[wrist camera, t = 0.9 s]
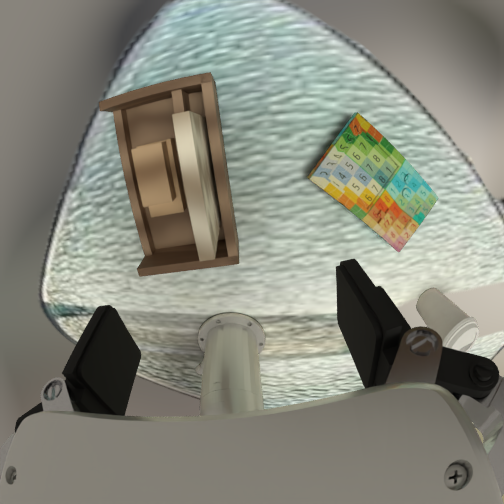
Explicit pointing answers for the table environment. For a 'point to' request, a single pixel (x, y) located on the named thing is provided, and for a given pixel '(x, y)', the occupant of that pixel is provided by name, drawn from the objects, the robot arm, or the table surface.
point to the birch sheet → (198, 180)
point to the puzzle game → (374, 182)
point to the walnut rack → (162, 128)
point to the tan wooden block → (159, 177)
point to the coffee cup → (447, 320)
